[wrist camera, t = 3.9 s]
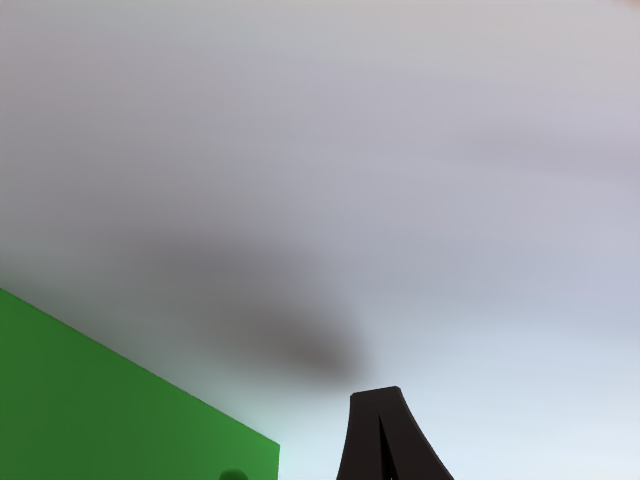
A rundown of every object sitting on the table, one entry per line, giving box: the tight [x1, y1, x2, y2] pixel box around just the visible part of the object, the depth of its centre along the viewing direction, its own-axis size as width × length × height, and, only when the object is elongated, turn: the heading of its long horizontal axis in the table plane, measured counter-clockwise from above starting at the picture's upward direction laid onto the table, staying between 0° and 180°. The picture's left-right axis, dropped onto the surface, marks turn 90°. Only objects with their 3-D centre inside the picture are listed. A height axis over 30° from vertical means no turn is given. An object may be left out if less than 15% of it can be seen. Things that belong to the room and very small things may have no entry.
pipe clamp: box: [0, 288, 280, 480], centre depth 12 cm, size 11×4×5 cm, turn 49°
